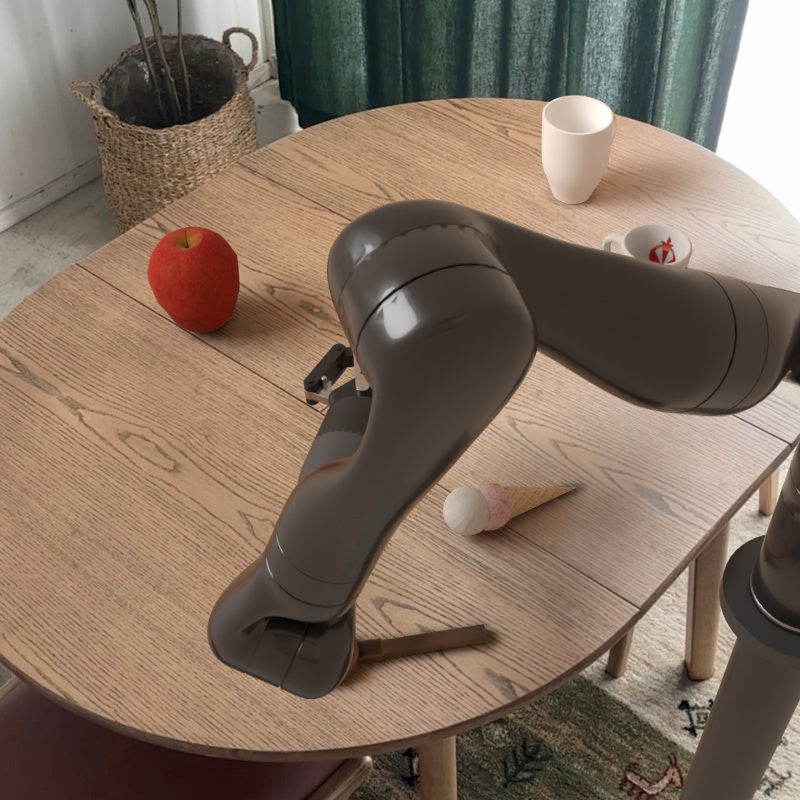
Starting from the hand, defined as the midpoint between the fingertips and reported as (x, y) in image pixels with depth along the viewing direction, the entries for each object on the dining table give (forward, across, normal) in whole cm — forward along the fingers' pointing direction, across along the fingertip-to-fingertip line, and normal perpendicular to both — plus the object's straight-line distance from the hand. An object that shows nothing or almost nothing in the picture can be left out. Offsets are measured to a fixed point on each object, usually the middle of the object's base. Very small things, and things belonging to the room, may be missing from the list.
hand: (408, 330), depth 98 cm
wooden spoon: (-22, -5, +18) cm, 29 cm away
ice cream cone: (-4, -11, +18) cm, 21 cm away
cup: (+31, -19, +18) cm, 41 cm away
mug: (+51, -9, +17) cm, 54 cm away
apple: (+14, +30, +18) cm, 37 cm away
